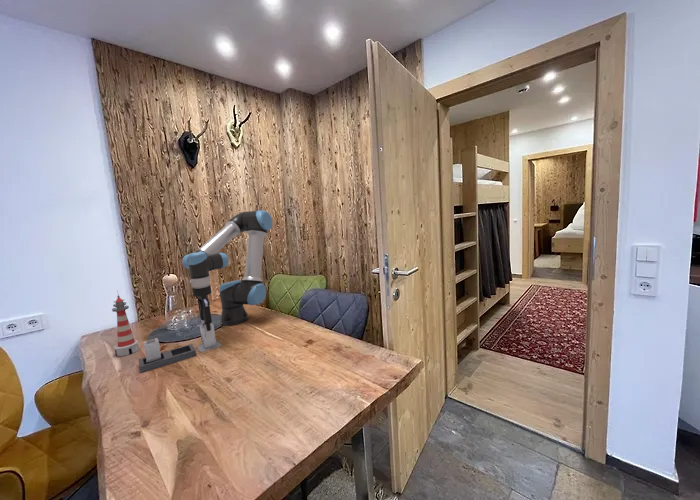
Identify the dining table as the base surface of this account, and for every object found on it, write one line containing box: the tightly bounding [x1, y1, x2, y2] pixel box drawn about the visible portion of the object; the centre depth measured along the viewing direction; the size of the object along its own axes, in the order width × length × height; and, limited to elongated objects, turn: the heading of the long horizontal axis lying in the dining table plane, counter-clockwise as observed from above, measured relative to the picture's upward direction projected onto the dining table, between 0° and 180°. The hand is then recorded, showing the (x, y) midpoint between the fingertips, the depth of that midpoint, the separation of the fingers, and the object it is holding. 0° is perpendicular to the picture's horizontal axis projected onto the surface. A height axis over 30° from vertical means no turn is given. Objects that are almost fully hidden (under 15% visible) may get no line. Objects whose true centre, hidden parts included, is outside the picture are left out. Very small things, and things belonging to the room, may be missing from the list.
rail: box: [138, 343, 197, 374], centre depth 124 cm, size 20×9×3 cm, turn 128°
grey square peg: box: [199, 322, 217, 349], centre depth 135 cm, size 5×5×10 cm
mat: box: [196, 339, 223, 353], centre depth 136 cm, size 9×9×1 cm
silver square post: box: [143, 337, 162, 364], centre depth 120 cm, size 5×5×10 cm
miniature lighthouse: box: [111, 289, 139, 357], centre depth 134 cm, size 9×9×30 cm
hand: (207, 335), depth 135 cm, fingers open, 6 cm apart
